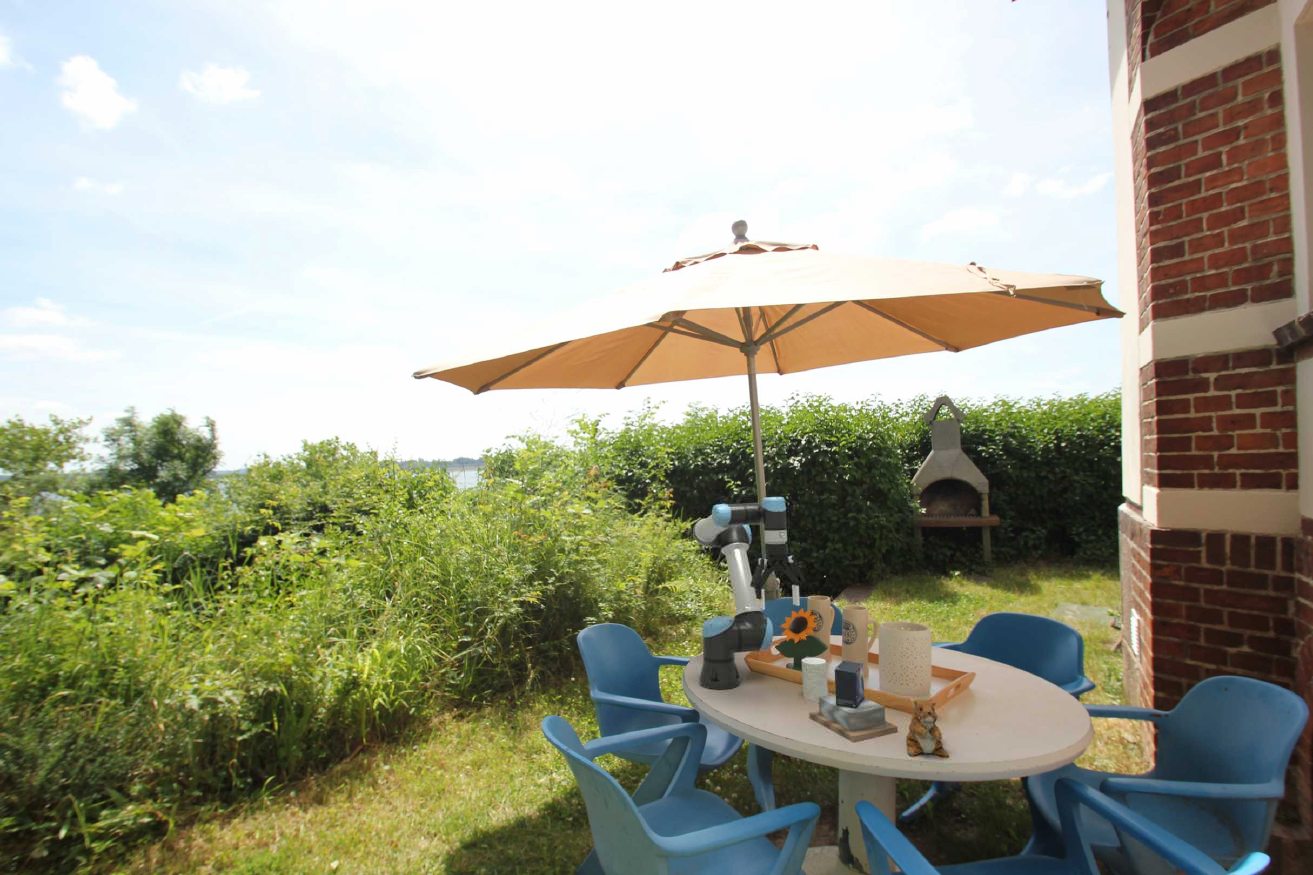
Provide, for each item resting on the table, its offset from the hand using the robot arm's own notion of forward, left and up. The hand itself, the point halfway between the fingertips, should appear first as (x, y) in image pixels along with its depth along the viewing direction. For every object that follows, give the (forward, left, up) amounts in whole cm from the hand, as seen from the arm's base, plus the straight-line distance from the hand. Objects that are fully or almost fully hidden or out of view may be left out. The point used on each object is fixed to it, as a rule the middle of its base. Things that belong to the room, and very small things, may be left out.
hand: (779, 606), depth 193 cm
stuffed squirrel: (+43, +16, -32) cm, 56 cm away
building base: (+22, +9, -32) cm, 40 cm away
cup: (-2, +14, -32) cm, 35 cm away
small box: (+22, +9, -25) cm, 35 cm away
